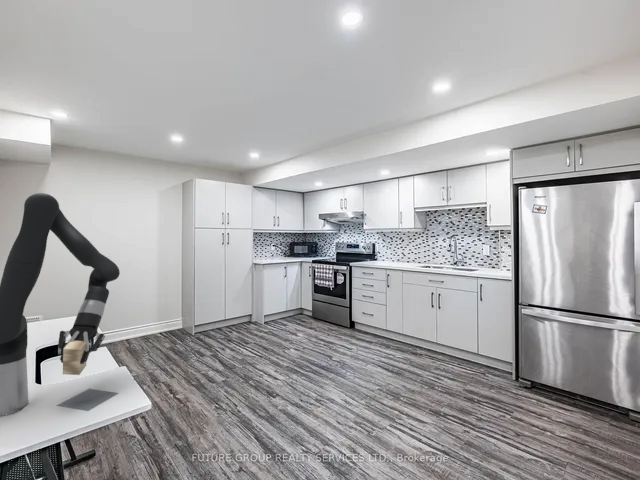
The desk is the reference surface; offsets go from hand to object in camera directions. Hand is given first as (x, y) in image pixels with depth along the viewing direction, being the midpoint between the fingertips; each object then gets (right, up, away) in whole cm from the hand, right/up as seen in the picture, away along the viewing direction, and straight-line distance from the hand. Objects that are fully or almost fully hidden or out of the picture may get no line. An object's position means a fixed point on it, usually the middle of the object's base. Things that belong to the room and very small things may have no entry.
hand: (72, 362), depth 111 cm
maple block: (-1, -3, +3) cm, 5 cm away
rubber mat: (+2, -15, +4) cm, 16 cm away
